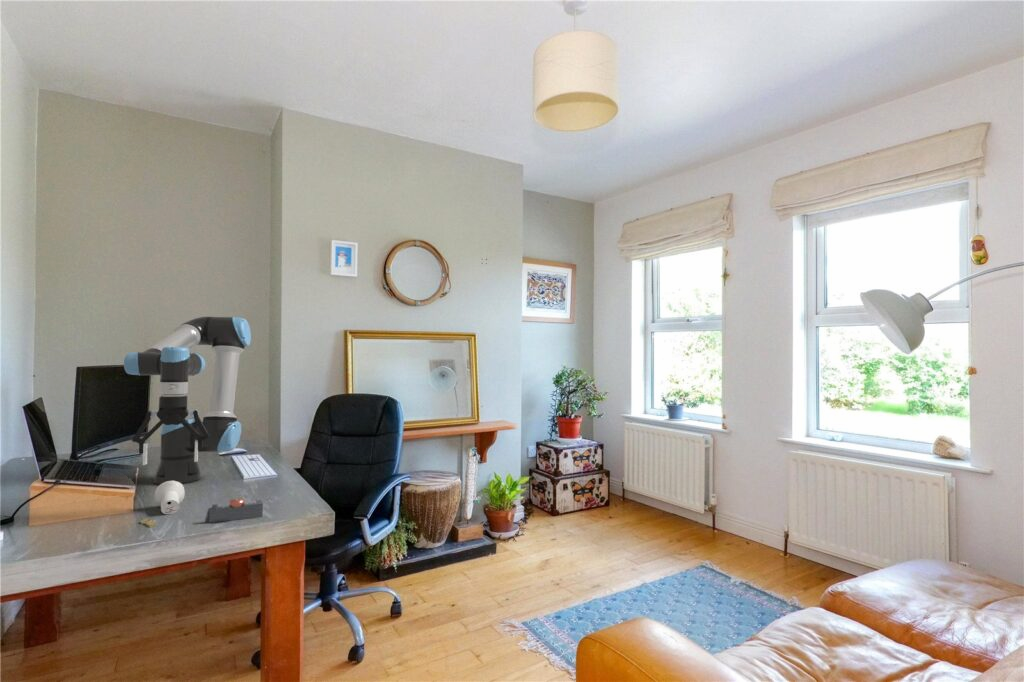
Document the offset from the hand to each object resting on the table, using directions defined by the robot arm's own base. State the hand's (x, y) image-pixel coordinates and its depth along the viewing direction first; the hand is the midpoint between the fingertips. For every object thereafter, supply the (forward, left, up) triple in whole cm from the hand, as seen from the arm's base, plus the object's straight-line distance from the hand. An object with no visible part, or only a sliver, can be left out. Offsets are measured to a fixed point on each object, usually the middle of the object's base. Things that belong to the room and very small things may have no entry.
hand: (170, 462), depth 163 cm
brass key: (+15, -3, -15) cm, 21 cm away
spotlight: (0, 0, -15) cm, 15 cm away
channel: (+13, +19, -15) cm, 27 cm away
